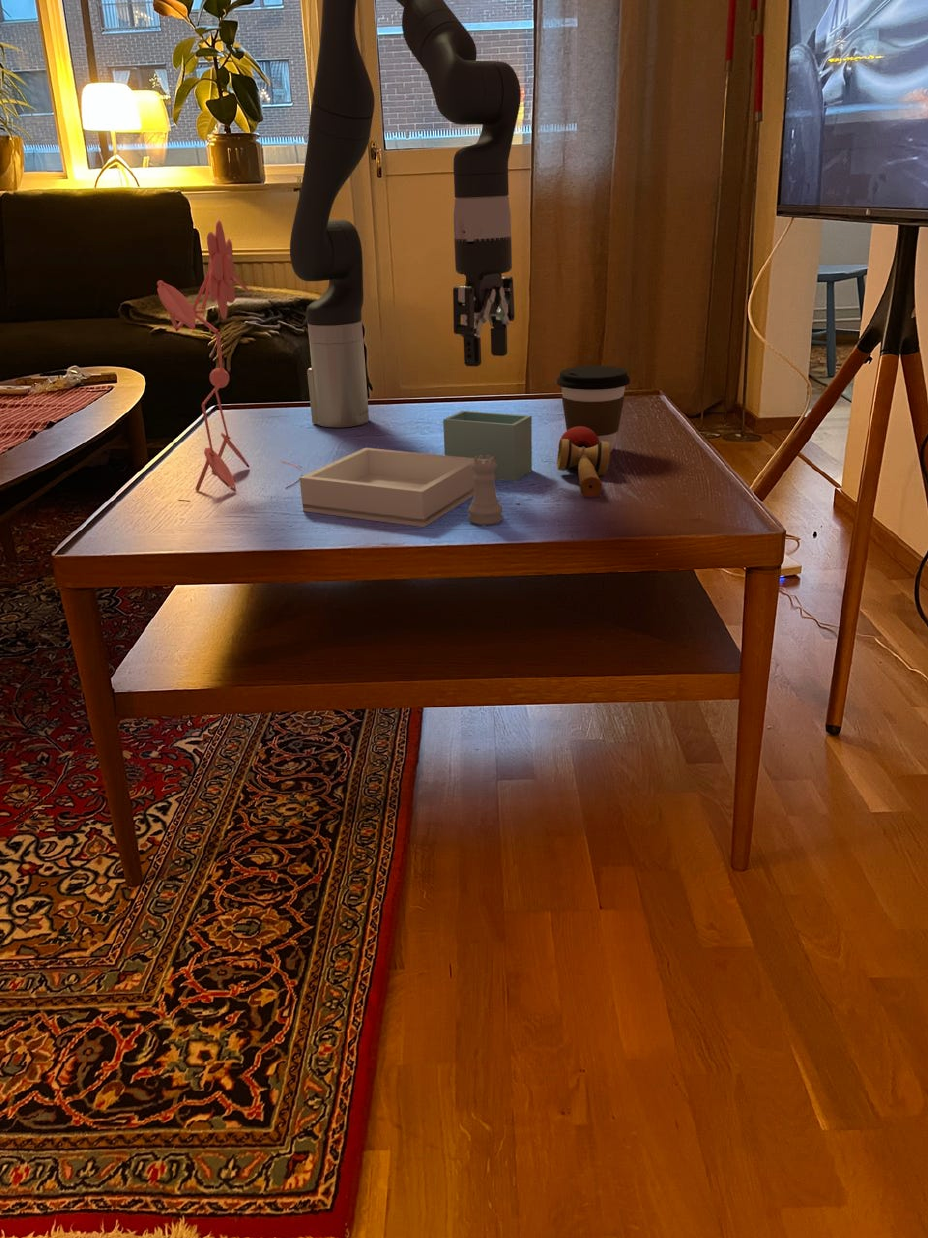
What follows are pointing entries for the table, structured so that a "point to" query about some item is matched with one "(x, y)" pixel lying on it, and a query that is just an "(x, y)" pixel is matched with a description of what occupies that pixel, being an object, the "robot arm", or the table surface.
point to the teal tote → (491, 440)
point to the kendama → (584, 458)
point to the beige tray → (389, 486)
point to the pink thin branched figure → (182, 310)
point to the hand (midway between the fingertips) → (486, 360)
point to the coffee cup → (594, 399)
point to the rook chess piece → (484, 493)
